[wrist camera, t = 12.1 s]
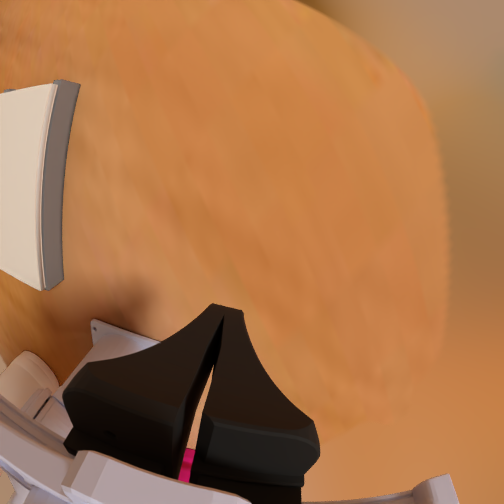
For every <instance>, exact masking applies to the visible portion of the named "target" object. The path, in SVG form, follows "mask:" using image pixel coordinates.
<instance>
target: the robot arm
mask: <svg viewBox="0 0 504 504" xmlns="http://www.w3.org/2000/svg"><path fill="white" fill-rule="evenodd" d="M91 332H92V340H93V347H92V348H91V350H90V351H89V352H88V353H87V355H86V356H85V357H84V358H83V360H82V361H81V362H80V363H79V364H78V366H77V367H76V368H75V370H74V371H73V372H72V373H71V375H70V376H69V377H68V378H67V380H66V381H65V382H64V384H63V385H62V386H60V387H59V388H58V389H57V391H56V392H55V393H54V395H53V396H51V394H52V391H51V390H50V389H49V388H45V389H44V388H39V389H37V390H36V391H35V392H34V393H33V394H32V395H31V397H30V398H29V399H28V400H27V401H26V403H25V404H24V405H23V407H22V408H21V409H19V408H17V407H16V406H15V405H14V404H12V403H11V402H10V401H8V400H7V399H6V398H5V397H3V396H2V395H1V394H0V468H1V469H2V470H4V471H5V472H6V473H7V475H8V477H9V479H10V481H11V483H12V485H13V487H14V490H15V491H14V493H13V495H12V496H11V498H10V500H9V501H8V503H7V504H459V501H458V498H457V495H456V492H455V489H454V486H453V484H452V481H451V478H450V475H449V474H444V475H440V476H437V477H433V478H430V479H427V480H425V481H423V482H421V483H420V484H418V485H417V486H416V487H414V488H413V489H412V490H409V491H405V492H400V493H395V494H390V495H384V496H378V497H371V498H363V499H354V500H342V501H325V502H301V487H303V486H304V474H305V473H306V472H307V471H308V470H309V469H310V468H311V467H312V466H313V465H314V464H315V463H316V461H317V460H318V458H319V457H320V443H319V438H318V435H317V431H316V428H315V424H314V421H313V420H312V419H310V418H309V417H308V416H307V415H305V414H304V413H303V412H302V411H301V410H299V409H298V408H297V407H296V406H295V405H294V404H292V403H291V402H290V401H289V400H288V399H287V398H286V397H285V395H284V394H283V393H282V392H281V391H280V390H279V389H278V387H277V386H276V385H275V384H274V382H273V381H272V380H271V378H270V377H269V375H268V374H267V372H266V371H265V369H264V368H263V366H262V364H261V362H260V361H259V359H258V357H257V355H256V353H255V350H254V348H253V346H252V343H251V341H250V338H249V335H248V332H247V329H246V325H245V321H244V313H243V312H242V310H238V309H234V308H230V307H226V306H222V305H218V304H214V303H212V304H211V305H209V306H208V307H207V308H206V309H205V310H204V311H203V312H202V313H201V314H200V315H199V316H198V317H197V318H196V319H194V320H193V321H192V322H191V323H189V324H188V325H187V326H185V327H184V328H183V329H181V330H180V331H178V332H177V333H175V334H174V335H172V336H170V337H169V338H167V339H165V340H163V341H161V342H159V341H156V340H153V339H150V338H147V337H144V336H141V335H138V334H135V333H132V332H129V331H126V330H123V329H120V328H118V327H115V326H112V325H110V324H107V323H104V322H102V321H99V320H97V319H93V320H92V321H91ZM213 365H214V367H213ZM212 368H213V374H212V382H211V386H210V389H209V392H208V396H207V399H206V402H205V406H204V409H203V412H202V418H201V423H200V428H199V433H198V439H197V444H196V449H195V454H194V458H193V462H192V466H191V470H190V478H189V483H187V482H183V481H179V480H178V478H179V474H180V470H181V466H182V462H183V458H184V454H185V450H186V446H187V442H188V439H189V435H190V431H191V427H192V424H193V420H194V416H195V412H196V409H197V406H198V403H199V401H200V398H201V396H202V393H203V391H204V388H205V386H206V383H207V380H208V378H209V375H210V373H211V370H212Z"/></svg>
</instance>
